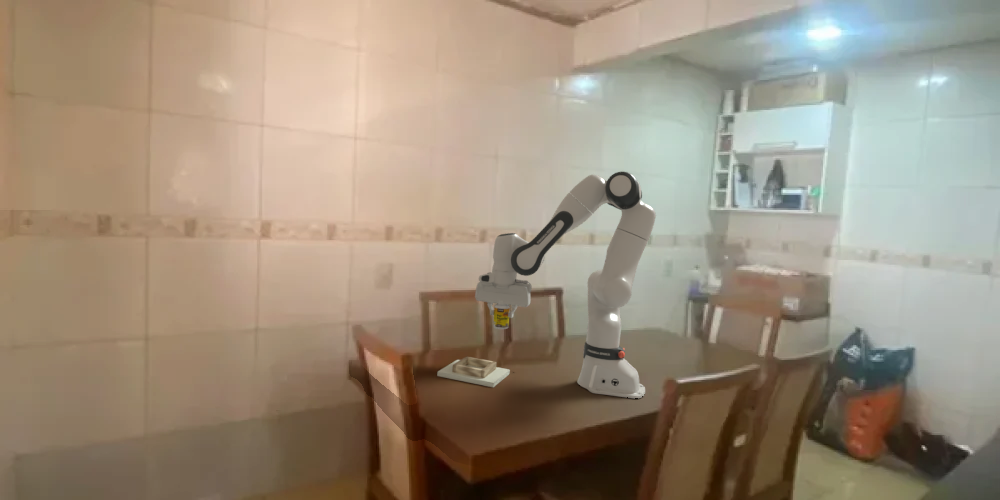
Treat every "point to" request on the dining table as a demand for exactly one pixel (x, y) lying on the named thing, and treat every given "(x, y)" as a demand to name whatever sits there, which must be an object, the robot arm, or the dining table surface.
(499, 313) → the supplement bottle
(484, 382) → the holder
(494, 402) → the dining table surface
